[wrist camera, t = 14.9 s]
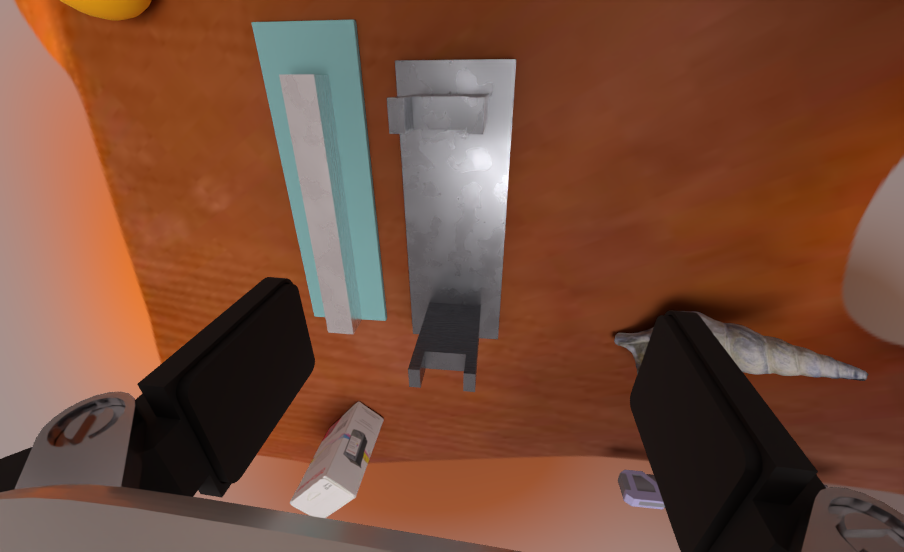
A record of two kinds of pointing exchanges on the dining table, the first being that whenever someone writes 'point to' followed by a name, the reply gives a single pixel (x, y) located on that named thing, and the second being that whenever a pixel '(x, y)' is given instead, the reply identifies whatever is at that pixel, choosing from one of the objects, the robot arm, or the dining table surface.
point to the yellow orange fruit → (110, 8)
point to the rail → (323, 195)
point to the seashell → (756, 353)
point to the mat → (337, 56)
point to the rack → (454, 203)
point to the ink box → (339, 463)
